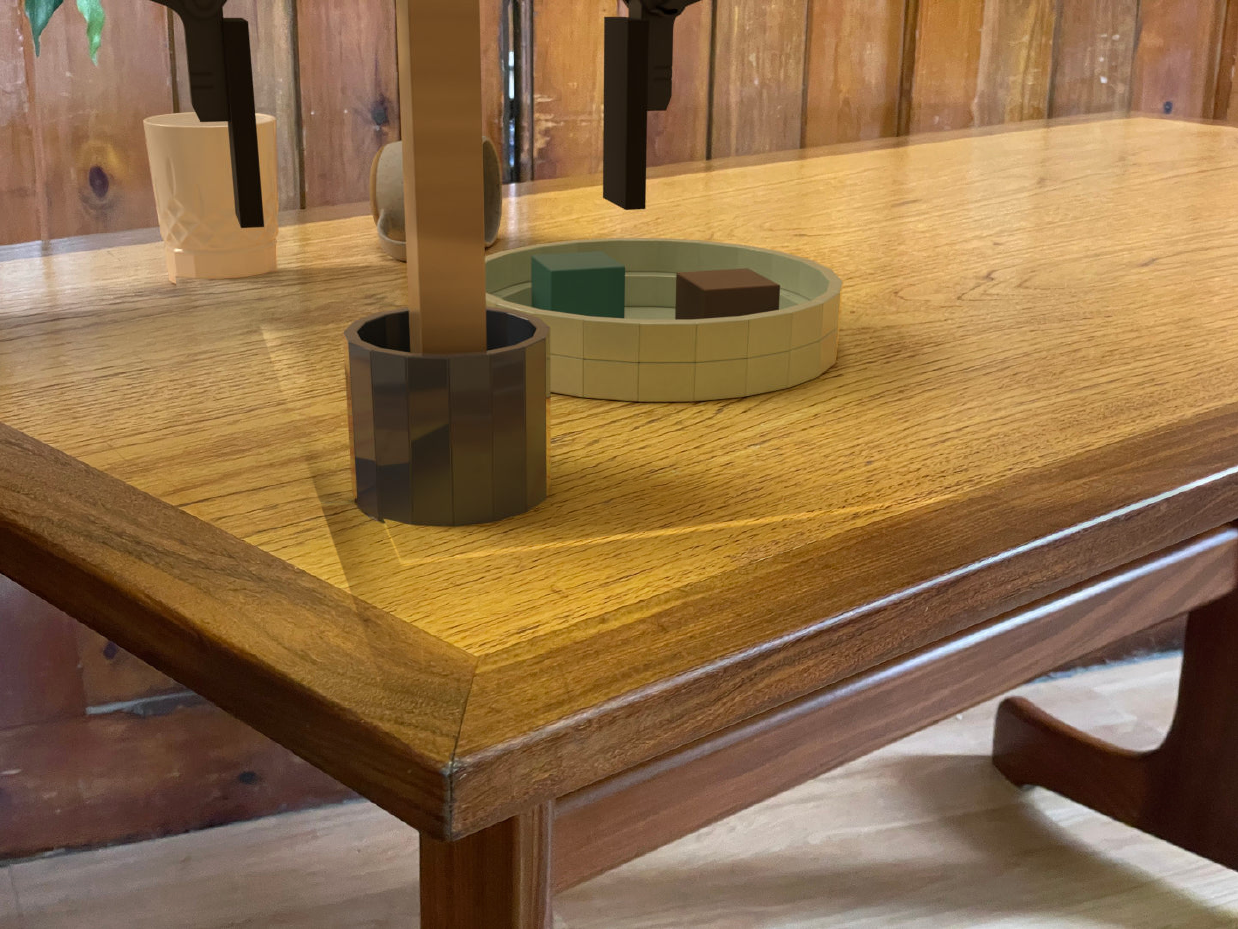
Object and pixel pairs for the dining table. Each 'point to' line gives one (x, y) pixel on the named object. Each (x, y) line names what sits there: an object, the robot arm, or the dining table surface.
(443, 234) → the brown stick
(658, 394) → the bowl
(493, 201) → the ceramic mug
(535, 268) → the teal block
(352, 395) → the stick cup
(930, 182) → the dining table surface
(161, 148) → the tan cup
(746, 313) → the walnut block
